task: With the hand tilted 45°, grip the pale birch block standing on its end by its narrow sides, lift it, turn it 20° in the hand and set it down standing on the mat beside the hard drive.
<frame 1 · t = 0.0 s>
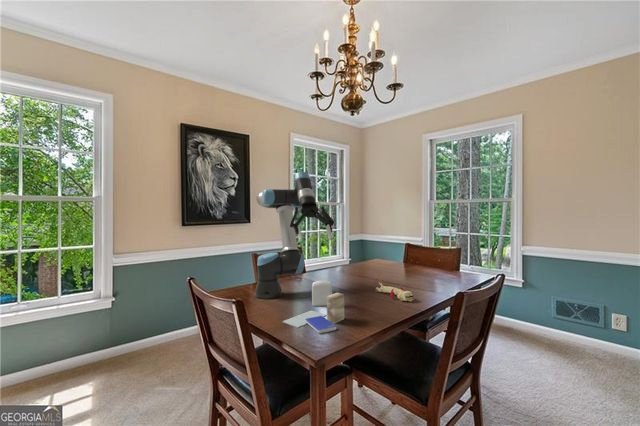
hand: (315, 239, 129), 36 cm above the table, tool tilted 35°, fingers open, 13 cm apart
photo printer: (322, 305, 152), on the table
cat figure: (394, 297, 165), on the table
hard drive: (320, 326, 125), on the table, touching mat
birch block: (335, 320, 132), on the table
mat: (305, 318, 134), on the table
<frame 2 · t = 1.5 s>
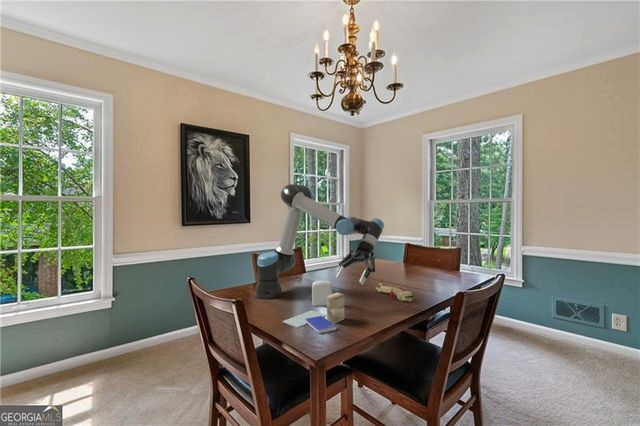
hand: (349, 281, 139), 15 cm above the table, tool tilted 45°, fingers open, 13 cm apart
nothing on the table moved.
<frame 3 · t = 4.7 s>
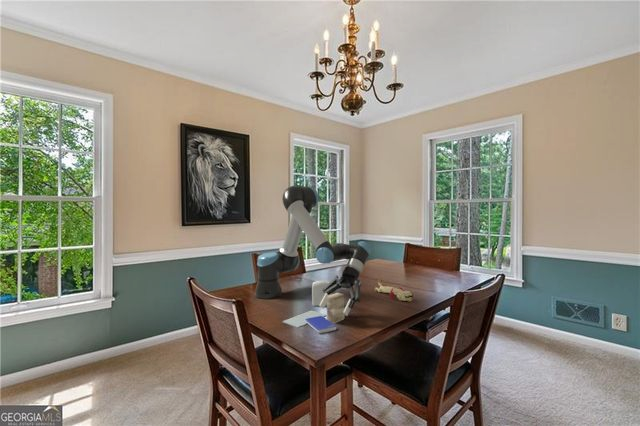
hand: (332, 310, 130), 5 cm above the table, tool tilted 45°, fingers open, 13 cm apart
nothing on the table moved.
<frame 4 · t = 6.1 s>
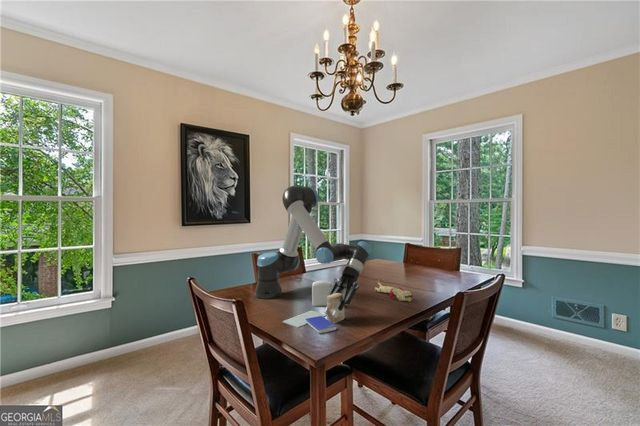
hand: (330, 315, 129), 3 cm above the table, tool tilted 45°, fingers closed on birch block, 4 cm apart
birch block: (335, 319, 132), on the table, touching gripper
everything else where it was.
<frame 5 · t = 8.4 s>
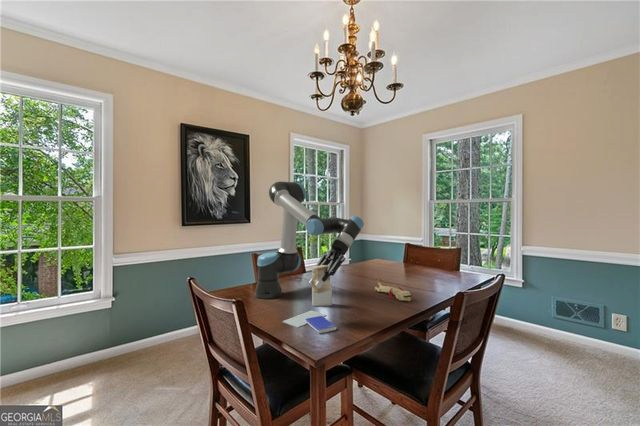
hand: (314, 285, 130), 16 cm above the table, tool tilted 45°, fingers closed on birch block, 4 cm apart
birch block: (321, 291, 133), point 13 cm above the table, touching gripper
everything else where it was.
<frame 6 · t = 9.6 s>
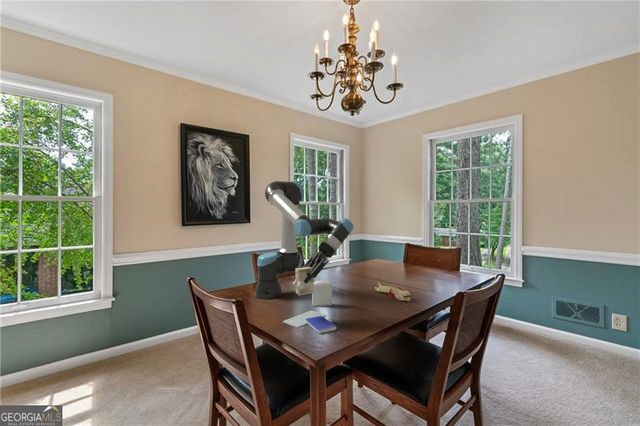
hand: (297, 287, 132), 15 cm above the table, tool tilted 45°, fingers closed on birch block, 4 cm apart
birch block: (304, 293, 133), point 12 cm above the table, touching gripper
when the fingers open (5 cm above the table, at t = 12.3 s): birch block drops 2 cm, resting on mat.
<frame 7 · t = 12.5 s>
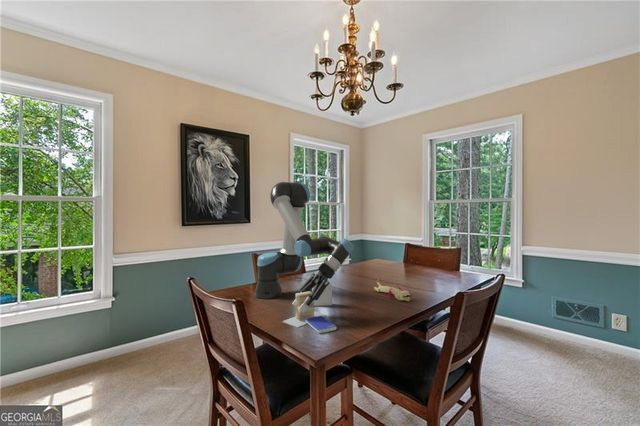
hand: (297, 308, 132), 5 cm above the table, tool tilted 45°, fingers open, 7 cm apart
birch block: (304, 318, 134), resting on mat
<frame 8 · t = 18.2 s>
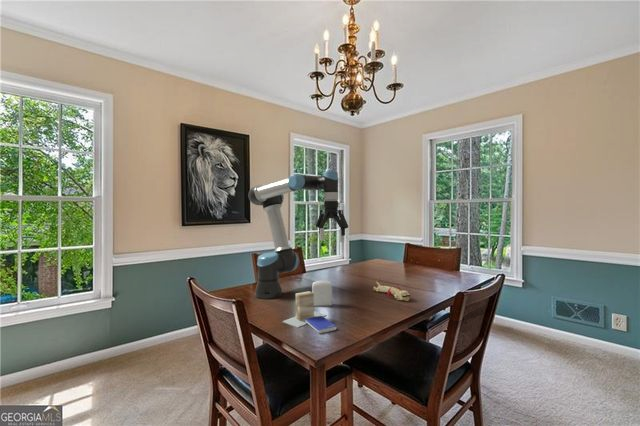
hand: (331, 241, 158), 32 cm above the table, tool pointing down, fingers open, 13 cm apart
at the end: birch block inside the target area on the mat (0.0 cm from its centre), point 0.4 cm above the mat's base; birch block tilted 0°; the gripper is holding nothing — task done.
